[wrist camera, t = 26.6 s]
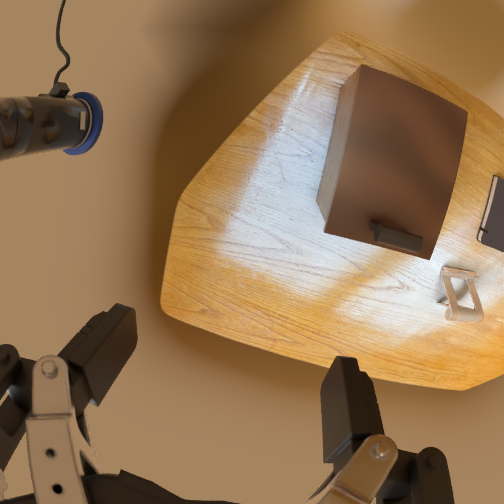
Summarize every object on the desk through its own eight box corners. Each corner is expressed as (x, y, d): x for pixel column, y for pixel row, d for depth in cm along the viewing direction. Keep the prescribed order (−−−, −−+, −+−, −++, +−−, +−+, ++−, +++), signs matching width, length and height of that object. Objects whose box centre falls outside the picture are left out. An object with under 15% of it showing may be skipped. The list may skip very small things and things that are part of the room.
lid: (427, 257, 29) (445, 276, 24) (323, 230, 30) (329, 247, 25) (464, 112, 22) (489, 110, 17) (359, 66, 22) (372, 52, 18)
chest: (397, 223, 40) (429, 251, 29) (315, 200, 40) (325, 222, 29) (423, 117, 33) (464, 112, 22) (340, 87, 33) (359, 66, 22)
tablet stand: (473, 270, 40) (495, 291, 32) (459, 305, 43) (477, 329, 36) (442, 264, 41) (464, 286, 33) (428, 302, 44) (445, 328, 36)
